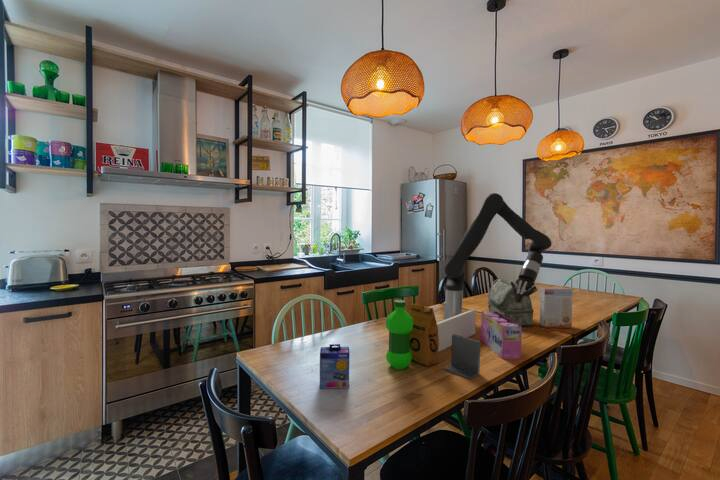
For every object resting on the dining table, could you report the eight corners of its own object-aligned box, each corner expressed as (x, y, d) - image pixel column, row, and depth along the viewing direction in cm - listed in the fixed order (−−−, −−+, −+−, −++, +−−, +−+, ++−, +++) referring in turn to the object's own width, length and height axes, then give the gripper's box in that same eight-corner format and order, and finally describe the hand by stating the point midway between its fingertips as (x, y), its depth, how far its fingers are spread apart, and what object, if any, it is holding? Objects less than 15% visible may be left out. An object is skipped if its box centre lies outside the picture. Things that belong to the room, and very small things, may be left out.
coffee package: (425, 369, 124) (426, 310, 123) (402, 358, 134) (403, 304, 133) (443, 362, 129) (444, 307, 128) (419, 352, 140) (420, 300, 138)
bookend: (444, 370, 123) (445, 338, 122) (453, 364, 128) (453, 334, 127) (471, 379, 116) (471, 345, 115) (479, 373, 120) (480, 341, 120)
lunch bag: (484, 313, 201) (484, 277, 200) (514, 314, 201) (515, 278, 200) (501, 327, 175) (502, 286, 174) (536, 327, 175) (537, 286, 174)
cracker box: (565, 325, 179) (567, 286, 178) (571, 328, 173) (573, 289, 172) (538, 324, 181) (540, 286, 180) (543, 327, 175) (545, 288, 174)
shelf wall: (427, 354, 137) (427, 326, 137) (472, 332, 165) (473, 309, 165) (430, 356, 136) (430, 327, 135) (475, 333, 164) (475, 309, 164)
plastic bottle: (406, 374, 119) (407, 305, 118) (380, 367, 125) (381, 301, 123) (417, 364, 127) (418, 300, 126) (392, 358, 133) (393, 297, 132)
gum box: (478, 338, 157) (479, 310, 157) (495, 338, 158) (496, 310, 157) (502, 359, 133) (503, 326, 133) (521, 359, 134) (522, 326, 133)
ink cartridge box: (319, 389, 108) (319, 345, 107) (319, 381, 113) (320, 339, 113) (349, 388, 109) (350, 345, 108) (348, 380, 114) (349, 339, 114)
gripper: (513, 265, 167) (501, 295, 162) (541, 269, 157) (528, 301, 152) (518, 273, 172) (506, 302, 166) (545, 277, 161) (534, 309, 156)
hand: (517, 301), depth 159 cm, fingers closed
